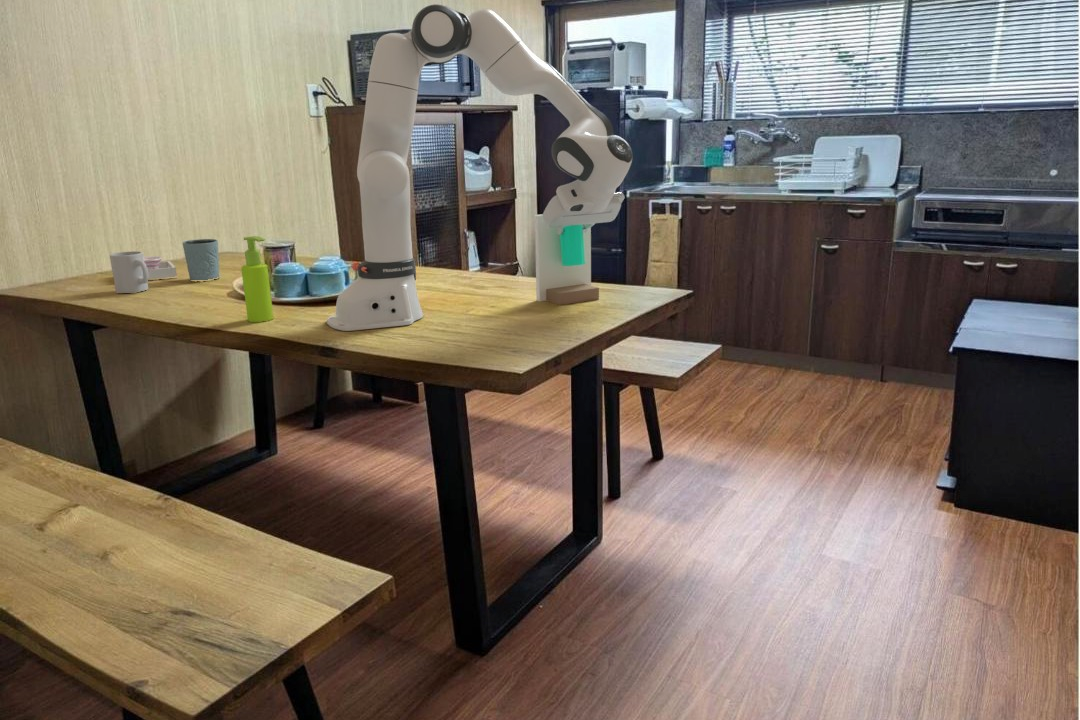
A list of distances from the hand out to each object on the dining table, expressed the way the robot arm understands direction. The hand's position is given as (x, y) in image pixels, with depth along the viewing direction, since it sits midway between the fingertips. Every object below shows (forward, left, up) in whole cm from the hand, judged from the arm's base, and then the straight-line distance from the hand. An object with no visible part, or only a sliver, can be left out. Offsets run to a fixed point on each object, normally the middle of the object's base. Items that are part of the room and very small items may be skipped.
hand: (570, 231), depth 199 cm
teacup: (-90, +107, -18) cm, 141 cm away
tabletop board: (0, 0, -18) cm, 18 cm away
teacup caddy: (-91, +108, -18) cm, 142 cm away
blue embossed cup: (-76, +92, -18) cm, 120 cm away
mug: (-96, +84, -18) cm, 129 cm away
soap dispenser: (-73, +25, -18) cm, 79 cm away
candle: (0, -2, -8) cm, 9 cm away
